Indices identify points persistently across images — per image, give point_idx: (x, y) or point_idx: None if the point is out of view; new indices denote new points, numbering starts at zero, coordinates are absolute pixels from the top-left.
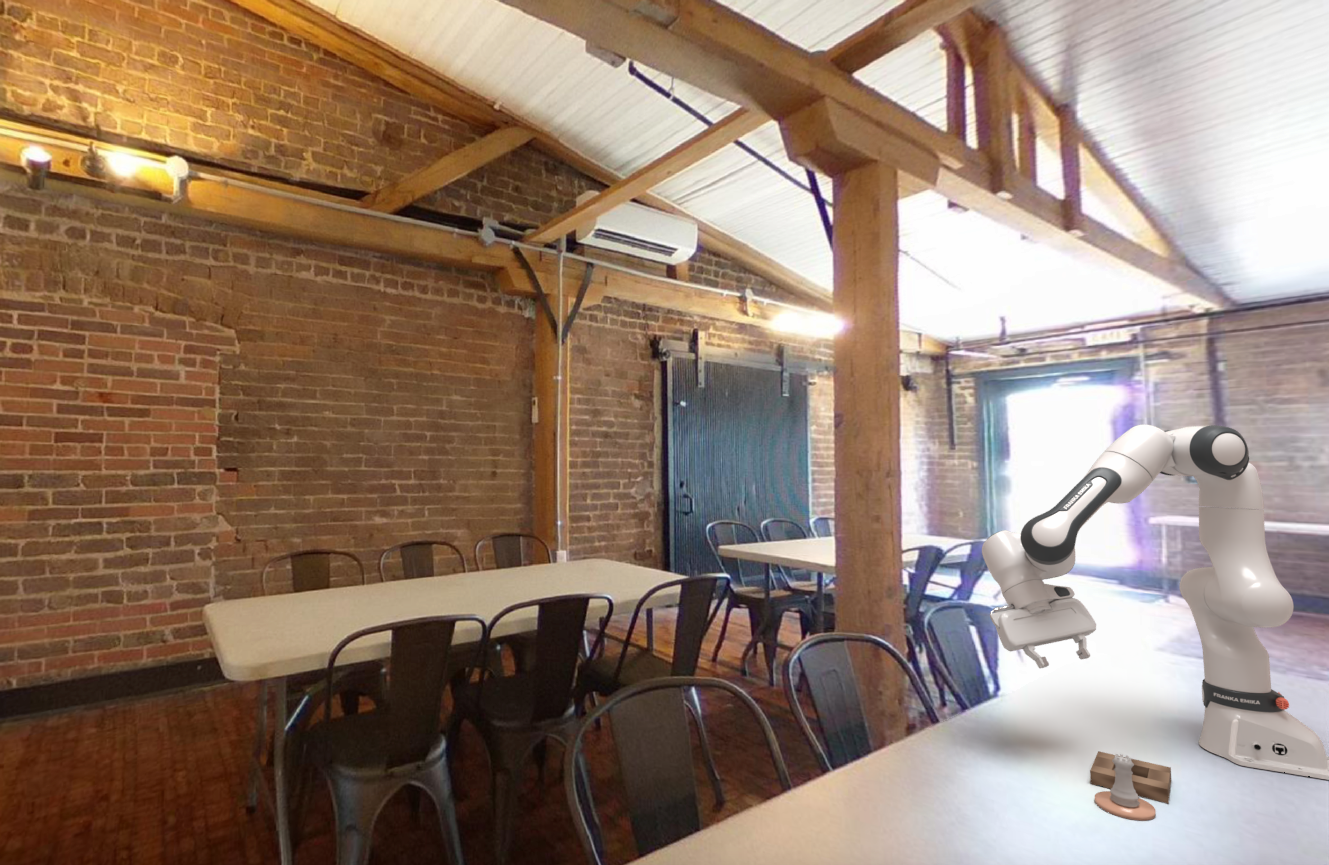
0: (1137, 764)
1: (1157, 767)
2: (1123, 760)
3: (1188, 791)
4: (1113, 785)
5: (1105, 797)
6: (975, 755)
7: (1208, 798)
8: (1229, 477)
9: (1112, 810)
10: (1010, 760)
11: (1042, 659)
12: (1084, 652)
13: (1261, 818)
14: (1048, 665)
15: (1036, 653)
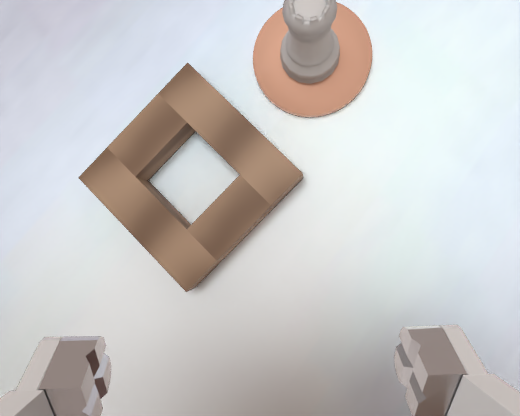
0: (147, 200)
1: (111, 180)
2: None
3: (102, 128)
4: (326, 56)
5: (336, 83)
6: (515, 376)
7: (88, 94)
8: None
9: (364, 28)
10: None
11: (455, 355)
12: (70, 356)
13: (60, 9)
14: (401, 330)
15: (509, 403)
